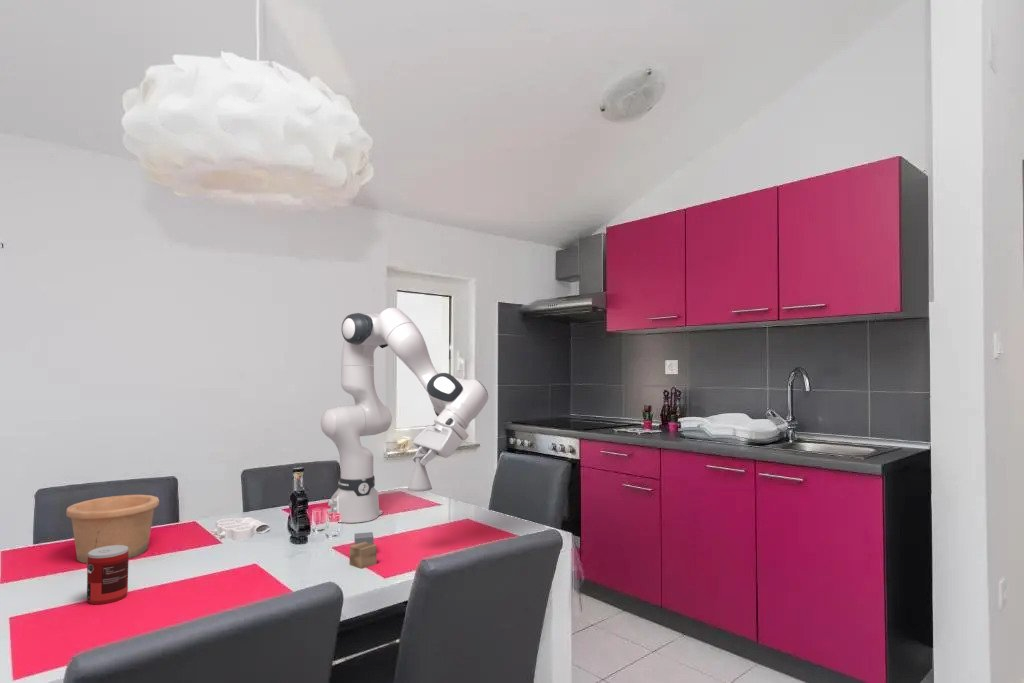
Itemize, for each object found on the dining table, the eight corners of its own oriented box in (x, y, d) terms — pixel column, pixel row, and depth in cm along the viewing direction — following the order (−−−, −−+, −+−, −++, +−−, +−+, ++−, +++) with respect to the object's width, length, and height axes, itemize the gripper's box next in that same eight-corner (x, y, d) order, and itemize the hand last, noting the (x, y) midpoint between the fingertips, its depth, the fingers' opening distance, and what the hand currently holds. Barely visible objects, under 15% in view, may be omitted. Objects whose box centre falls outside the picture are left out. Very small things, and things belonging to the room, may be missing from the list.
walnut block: (349, 565, 159) (349, 546, 159) (364, 560, 163) (364, 541, 163) (361, 569, 156) (361, 549, 156) (376, 564, 159) (376, 545, 160)
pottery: (175, 548, 174) (176, 498, 174) (95, 572, 154) (96, 516, 154) (128, 538, 183) (128, 491, 183) (47, 560, 163) (48, 507, 163)
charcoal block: (354, 551, 170) (354, 533, 170) (372, 549, 172) (372, 532, 172) (355, 556, 166) (355, 538, 166) (373, 554, 167) (373, 537, 167)
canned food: (99, 592, 140) (100, 545, 141) (134, 591, 141) (135, 544, 141) (78, 605, 133) (79, 555, 133) (116, 604, 133) (117, 554, 134)
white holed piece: (274, 534, 188) (226, 544, 177) (250, 523, 200) (203, 533, 190) (274, 523, 188) (226, 533, 178) (250, 513, 201) (204, 522, 190)
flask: (429, 492, 166) (428, 456, 166) (403, 492, 166) (403, 456, 167) (435, 487, 173) (435, 453, 173) (411, 487, 174) (411, 452, 174)
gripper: (427, 416, 183) (397, 450, 177) (457, 422, 166) (424, 460, 160) (440, 429, 185) (411, 464, 180) (471, 437, 168) (439, 475, 162)
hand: (417, 462), depth 170 cm, fingers closed on flask, 3 cm apart
